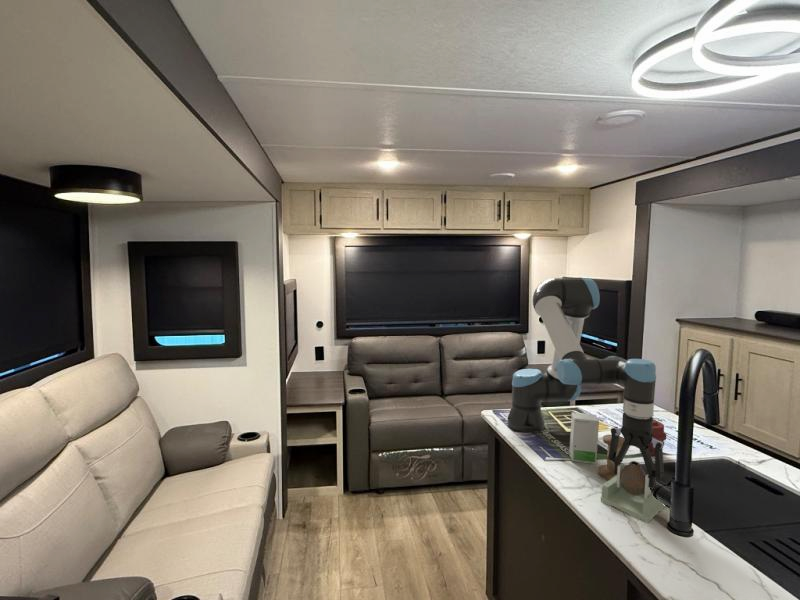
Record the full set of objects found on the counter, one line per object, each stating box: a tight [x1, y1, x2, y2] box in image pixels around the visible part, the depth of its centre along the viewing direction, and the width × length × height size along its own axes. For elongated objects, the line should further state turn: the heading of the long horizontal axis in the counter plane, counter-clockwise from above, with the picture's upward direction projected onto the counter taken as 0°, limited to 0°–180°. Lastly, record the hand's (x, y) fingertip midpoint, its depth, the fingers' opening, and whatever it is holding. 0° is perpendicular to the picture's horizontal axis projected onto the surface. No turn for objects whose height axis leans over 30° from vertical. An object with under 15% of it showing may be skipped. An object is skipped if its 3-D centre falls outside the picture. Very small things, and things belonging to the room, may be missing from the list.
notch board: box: [599, 475, 665, 523], centre depth 124 cm, size 13×13×5 cm
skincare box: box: [568, 411, 600, 465], centre depth 150 cm, size 8×7×16 cm
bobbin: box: [597, 434, 625, 481], centre depth 139 cm, size 9×9×12 cm
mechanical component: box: [649, 418, 667, 456], centre depth 153 cm, size 12×10×10 cm
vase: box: [621, 460, 647, 496], centre depth 123 cm, size 7×7×9 cm
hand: (633, 491), depth 123 cm, fingers closed on vase, 7 cm apart
